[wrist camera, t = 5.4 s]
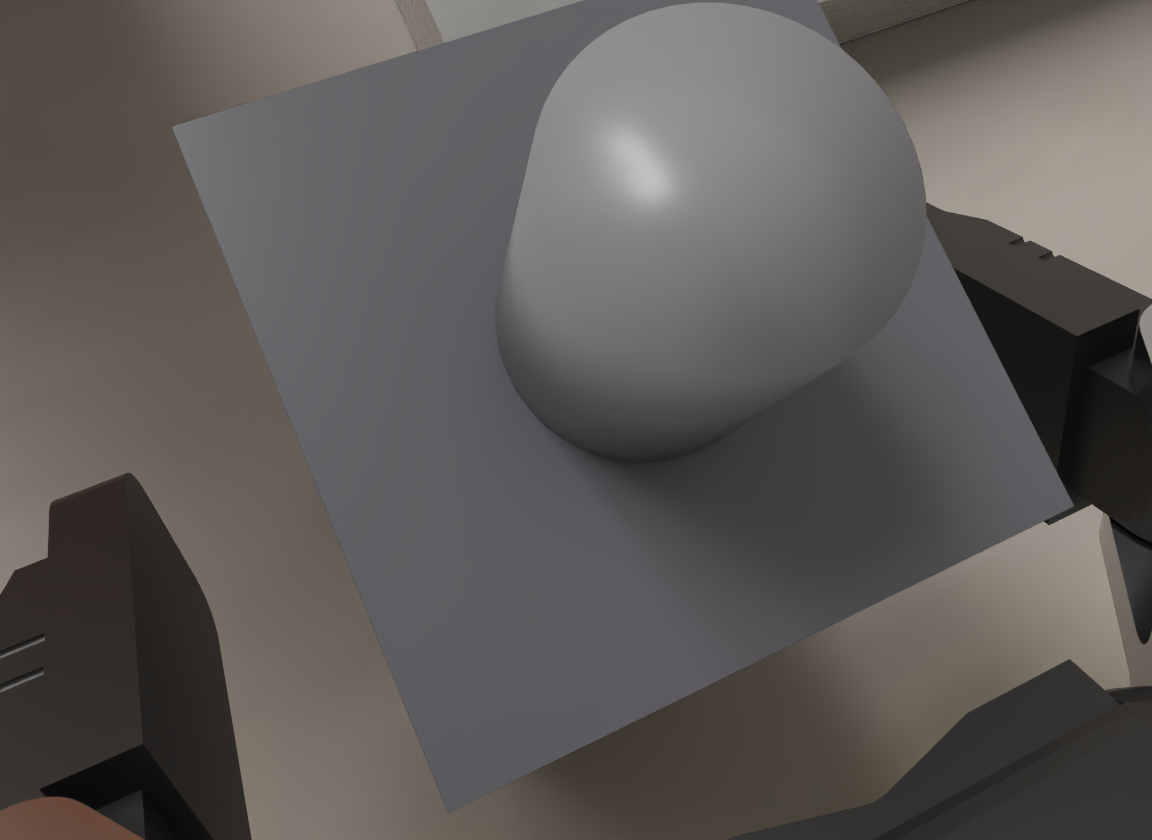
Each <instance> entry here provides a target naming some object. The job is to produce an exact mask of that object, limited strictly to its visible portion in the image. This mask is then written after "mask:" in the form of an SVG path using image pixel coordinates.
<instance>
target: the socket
mask: <svg viewBox="0 0 1152 840" xmlns="http://www.w3.org/2000/svg"><path fill="white" fill-rule="evenodd" d="M579 1H583V0H396V2H397V5H398V7H399V9H400V11H401V14H402V16H403V18H404V20H405V23H406V25H407V27H408V29H409V32H410V34H411V36H412V38H413V41H414V43H415V45H416V47H417V50H418V51H420V50H423V49H426V48H429V47H433V46H436V45H439V44H442V43H446V42H449V41H452V40H455V39H459V38H462V37H465V36H469V35H472V34H475V33H478V32H482V31H485V30H488V29H491V28H495V27H498V26H501V25H504V24H508V23H511V22H514V21H517V20H521V19H524V18H527V17H531V16H534V15H537V14H540V13H544V12H547V11H550V10H553V9H557V8H560V7H563V6H566V5H570V4H573V3H576V2H579ZM817 1H818V3H819V5H820V7H821V9H822V11H823V13H824V15H825V17H826V19H827V21H828V23H829V25H830V27H831V29H832V31H833V33H834V34H835V36H836V38H837V40H838V42H839V44H842V43H845V42H848V41H851V40H854V39H857V38H860V37H863V36H866V35H869V34H872V33H875V32H878V31H881V30H884V29H887V28H890V27H893V26H896V25H898V24H901V23H904V22H907V21H910V20H913V19H916V18H919V17H922V16H925V15H928V14H931V13H934V12H937V11H940V10H943V9H946V8H949V7H952V6H955V5H958V4H960V3H963V2H966V1H969V0H817Z"/></svg>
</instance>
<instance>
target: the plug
mask: <svg viewBox="0 0 1152 840" xmlns="http://www.w3.org/2000/svg"><path fill="white" fill-rule="evenodd" d="M171 127H172V129H173V131H174V134H175V136H176V139H177V141H178V144H179V146H180V149H181V151H182V154H183V156H184V159H185V161H186V164H187V166H188V169H189V171H190V174H191V176H192V179H193V181H194V184H195V186H196V189H197V191H198V194H199V196H200V199H201V201H202V204H203V206H204V208H205V211H206V213H207V216H208V218H209V221H210V223H211V226H212V228H213V231H214V233H215V236H216V238H217V241H218V243H219V246H220V248H221V251H222V253H223V256H224V258H225V261H226V263H227V266H228V268H229V271H230V273H231V276H232V278H233V281H234V283H235V285H236V288H237V290H238V293H239V295H240V298H241V300H242V303H243V305H244V308H245V310H246V313H247V315H248V318H249V320H250V323H251V325H252V328H253V330H254V333H255V335H256V338H257V340H258V343H259V345H260V348H261V350H262V353H263V355H264V358H265V360H266V362H267V365H268V367H269V370H270V372H271V375H272V377H273V380H274V382H275V385H276V387H277V390H278V392H279V395H280V397H281V400H282V402H283V405H284V407H285V410H286V412H287V415H288V417H289V420H290V422H291V425H292V427H293V430H294V432H295V435H296V437H297V440H298V442H299V444H300V447H301V449H302V452H303V454H304V457H305V459H306V462H307V464H308V467H309V469H310V472H311V474H312V477H313V479H314V482H315V484H316V487H317V489H318V492H319V494H320V497H321V499H322V502H323V504H324V507H325V509H326V512H327V514H328V516H329V519H330V521H331V524H332V526H333V529H334V531H335V534H336V536H337V539H338V541H339V544H340V546H341V549H342V551H343V554H344V556H345V559H346V561H347V564H348V566H349V569H350V571H351V574H352V576H353V579H354V581H355V584H356V586H357V589H358V591H359V594H360V596H361V598H362V601H363V603H364V606H365V608H366V611H367V613H368V616H369V618H370V621H371V623H372V626H373V628H374V631H375V633H376V636H377V638H378V641H379V643H380V646H381V648H382V651H383V653H384V656H385V658H386V661H387V663H388V666H389V668H390V671H391V673H392V675H393V678H394V680H395V683H396V685H397V688H398V690H399V693H400V695H401V698H402V700H403V703H404V705H405V708H406V710H407V713H408V715H409V718H410V720H411V723H412V725H413V728H414V730H415V733H416V735H417V738H418V740H419V743H420V745H421V748H422V750H423V752H424V755H425V757H426V760H427V762H428V765H429V767H430V770H431V772H432V775H433V777H434V780H435V782H436V785H437V787H438V790H439V792H440V795H441V797H442V800H443V802H444V805H445V807H446V810H447V812H448V813H449V812H451V811H453V810H455V809H457V808H459V807H461V806H463V805H466V804H468V803H470V802H472V801H474V800H476V799H478V798H480V797H482V796H484V795H486V794H488V793H490V792H492V791H494V790H496V789H498V788H500V787H502V786H504V785H506V784H508V783H510V782H512V781H514V780H517V779H519V778H521V777H523V776H525V775H527V774H529V773H531V772H533V771H535V770H537V769H539V768H541V767H543V766H545V765H547V764H549V763H551V762H553V761H555V760H557V759H559V758H561V757H563V756H565V755H568V754H570V753H572V752H574V751H576V750H578V749H580V748H582V747H584V746H586V745H588V744H590V743H592V742H594V741H596V740H598V739H600V738H602V737H604V736H606V735H608V734H610V733H612V732H614V731H616V730H619V729H621V728H623V727H625V726H627V725H629V724H631V723H633V722H635V721H637V720H639V719H641V718H643V717H645V716H647V715H649V714H651V713H653V712H655V711H657V710H659V709H661V708H663V707H665V706H667V705H670V704H672V703H674V702H676V701H678V700H680V699H682V698H684V697H686V696H688V695H690V694H692V693H694V692H696V691H698V690H700V689H702V688H704V687H706V686H708V685H710V684H712V683H714V682H716V681H718V680H721V679H723V678H725V677H727V676H729V675H731V674H733V673H735V672H737V671H739V670H741V669H743V668H745V667H747V666H749V665H751V664H753V663H755V662H757V661H759V660H761V659H763V658H765V657H767V656H769V655H772V654H774V653H776V652H778V651H780V650H782V649H784V648H786V647H788V646H790V645H792V644H794V643H796V642H798V641H800V640H802V639H804V638H806V637H808V636H810V635H812V634H814V633H816V632H818V631H820V630H822V629H825V628H827V627H829V626H831V625H833V624H835V623H837V622H839V621H841V620H843V619H845V618H847V617H849V616H851V615H853V614H855V613H857V612H859V611H861V610H863V609H865V608H867V607H869V606H871V605H873V604H876V603H878V602H880V601H882V600H884V599H886V598H888V597H890V596H892V595H894V594H896V593H898V592H900V591H902V590H904V589H906V588H908V587H910V586H912V585H914V584H916V583H918V582H920V581H922V580H924V579H927V578H929V577H931V576H933V575H935V574H937V573H939V572H941V571H943V570H945V569H947V568H949V567H951V566H953V565H955V564H957V563H959V562H961V561H963V560H965V559H967V558H969V557H971V556H973V555H975V554H978V553H980V552H982V551H984V550H986V549H988V548H990V547H992V546H994V545H996V544H998V543H1000V542H1002V541H1004V540H1006V539H1008V538H1010V537H1012V536H1014V535H1016V534H1018V533H1020V532H1022V531H1024V530H1026V529H1029V528H1031V527H1033V526H1035V525H1037V524H1039V523H1041V522H1043V521H1045V520H1047V519H1049V518H1051V517H1053V516H1055V515H1057V514H1059V513H1061V512H1063V511H1065V510H1067V509H1069V508H1071V507H1073V506H1074V505H1073V503H1072V501H1071V499H1070V497H1069V495H1068V493H1067V491H1066V489H1065V487H1064V485H1063V483H1062V481H1061V479H1060V477H1059V475H1058V474H1057V472H1056V470H1055V468H1054V466H1053V464H1052V462H1051V460H1050V458H1049V456H1048V454H1047V452H1046V450H1045V448H1044V446H1043V444H1042V442H1041V440H1040V438H1039V436H1038V434H1037V432H1036V430H1035V428H1034V426H1033V424H1032V422H1031V420H1030V418H1029V416H1028V414H1027V412H1026V411H1025V409H1024V407H1023V405H1022V403H1021V401H1020V399H1019V397H1018V395H1017V393H1016V391H1015V389H1014V387H1013V385H1012V383H1011V381H1010V379H1009V377H1008V375H1007V373H1006V371H1005V369H1004V367H1003V365H1002V363H1001V361H1000V359H999V357H998V355H997V353H996V351H995V349H994V348H993V346H992V344H991V342H990V340H989V338H988V336H987V334H986V332H985V330H984V328H983V326H982V324H981V322H980V320H979V318H978V316H977V314H976V312H975V310H974V308H973V306H972V304H971V302H970V300H969V298H968V296H967V294H966V292H965V290H964V288H963V286H962V285H961V283H960V281H959V279H958V277H957V275H956V273H955V271H954V269H953V267H952V265H951V263H950V261H949V259H948V257H947V255H946V253H945V251H944V249H943V247H942V245H941V243H940V241H939V239H938V237H937V235H936V233H935V231H934V229H933V227H932V225H931V223H930V222H929V220H928V218H927V216H926V194H925V188H924V182H923V176H922V170H921V167H920V164H919V161H918V157H917V154H916V151H915V147H914V145H913V143H912V140H911V138H910V136H909V133H908V131H907V129H906V127H905V124H904V122H903V121H902V119H901V117H900V116H899V114H898V112H897V111H896V109H895V107H894V105H893V104H892V102H891V101H890V99H889V98H888V97H887V95H886V94H885V93H884V92H883V90H882V89H881V88H880V86H879V85H878V84H877V82H876V81H875V80H874V79H873V78H872V77H871V76H870V75H869V74H868V73H867V72H866V71H865V70H864V68H863V67H862V66H861V65H860V64H859V63H858V62H856V61H855V60H854V59H853V58H852V57H850V56H849V55H848V54H847V53H846V52H844V51H843V50H842V48H841V46H840V44H839V42H838V40H837V38H836V36H835V34H834V33H833V31H832V29H831V27H830V25H829V23H828V21H827V19H826V17H825V15H824V13H823V11H822V9H821V7H820V5H819V3H818V1H817V0H583V1H579V2H576V3H573V4H570V5H566V6H563V7H560V8H557V9H553V10H550V11H547V12H544V13H540V14H537V15H534V16H531V17H527V18H524V19H521V20H517V21H514V22H511V23H508V24H504V25H501V26H498V27H495V28H491V29H488V30H485V31H482V32H478V33H475V34H472V35H469V36H465V37H462V38H459V39H455V40H452V41H449V42H446V43H442V44H439V45H436V46H433V47H429V48H426V49H423V50H420V51H416V52H413V53H410V54H406V55H403V56H400V57H397V58H393V59H390V60H387V61H384V62H380V63H377V64H374V65H371V66H367V67H364V68H361V69H358V70H354V71H351V72H348V73H344V74H341V75H338V76H335V77H331V78H328V79H325V80H322V81H318V82H315V83H312V84H309V85H305V86H302V87H299V88H296V89H292V90H289V91H286V92H282V93H279V94H276V95H273V96H269V97H266V98H263V99H260V100H256V101H253V102H250V103H247V104H243V105H240V106H237V107H233V108H230V109H227V110H224V111H220V112H217V113H214V114H211V115H207V116H204V117H201V118H198V119H194V120H191V121H188V122H185V123H181V124H178V125H175V126H171Z"/></svg>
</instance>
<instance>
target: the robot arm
mask: <svg viewBox="0 0 1152 840" xmlns="http://www.w3.org/2000/svg"><path fill="white" fill-rule="evenodd" d="M926 216H927V218H928V220H929V222H930V223H931V225H932V227H933V229H934V231H935V233H936V235H937V237H938V239H939V241H940V243H941V245H942V247H943V249H944V251H945V253H946V255H947V257H948V259H949V261H950V263H951V265H952V267H953V269H954V271H955V273H956V275H957V277H958V279H959V281H960V283H961V285H962V286H963V288H964V290H965V292H966V294H967V296H968V298H969V300H970V302H971V304H972V306H973V308H974V310H975V312H976V314H977V316H978V318H979V320H980V322H981V324H982V326H983V328H984V330H985V332H986V334H987V336H988V338H989V340H990V342H991V344H992V346H993V348H994V349H995V351H996V353H997V355H998V357H999V359H1000V361H1001V363H1002V365H1003V367H1004V369H1005V371H1006V373H1007V375H1008V377H1009V379H1010V381H1011V383H1012V385H1013V387H1014V389H1015V391H1016V393H1017V395H1018V397H1019V399H1020V401H1021V403H1022V405H1023V407H1024V409H1025V411H1026V412H1027V414H1028V416H1029V418H1030V420H1031V422H1032V424H1033V426H1034V428H1035V430H1036V432H1037V434H1038V436H1039V438H1040V440H1041V442H1042V444H1043V446H1044V448H1045V450H1046V452H1047V454H1048V456H1049V458H1050V460H1051V462H1052V464H1053V466H1054V468H1055V470H1056V472H1057V474H1058V475H1059V477H1060V479H1061V481H1062V483H1063V485H1064V487H1065V489H1066V491H1067V493H1068V495H1069V497H1070V499H1071V501H1072V503H1073V505H1074V506H1073V507H1071V508H1069V509H1067V510H1065V511H1063V512H1061V513H1059V514H1057V515H1055V516H1053V517H1051V518H1049V519H1047V520H1045V521H1044V522H1045V523H1047V524H1048V525H1050V524H1053V523H1055V522H1057V521H1059V520H1061V519H1063V518H1065V517H1067V516H1069V515H1071V514H1073V513H1075V512H1077V511H1079V510H1081V509H1083V508H1085V507H1087V506H1089V505H1091V504H1092V505H1094V506H1095V507H1097V508H1098V509H1100V510H1101V511H1102V512H1103V516H1102V521H1101V526H1100V531H1099V538H1100V544H1101V549H1102V553H1103V557H1104V562H1105V566H1106V571H1107V575H1108V580H1109V584H1110V589H1111V593H1112V598H1113V602H1114V607H1115V611H1116V615H1117V620H1118V624H1119V629H1120V633H1121V638H1122V642H1123V647H1124V651H1125V656H1126V660H1127V665H1128V670H1129V676H1130V687H1125V688H1116V689H1109V690H1104V689H1103V688H1102V687H1100V686H1099V685H1098V684H1097V683H1096V682H1095V681H1094V680H1093V679H1091V678H1090V677H1089V676H1088V675H1087V674H1086V673H1085V672H1084V671H1082V670H1081V669H1080V668H1079V667H1078V666H1077V665H1076V664H1074V663H1073V662H1072V661H1071V660H1070V659H1069V660H1067V661H1065V662H1063V663H1061V664H1059V665H1058V666H1056V667H1054V668H1052V669H1050V670H1048V671H1046V672H1044V673H1042V674H1041V675H1039V676H1037V677H1035V678H1033V679H1031V680H1029V681H1027V682H1025V683H1024V684H1022V685H1020V686H1018V687H1016V688H1014V689H1012V690H1010V691H1008V692H1007V693H1005V694H1003V695H1001V696H999V697H997V698H995V699H993V700H991V701H990V702H988V703H986V704H984V705H982V706H980V707H978V708H976V709H974V710H973V711H971V712H969V713H967V714H966V715H965V716H964V717H963V718H962V719H961V720H960V721H959V722H958V723H957V724H956V725H955V726H954V727H953V728H952V729H951V730H950V731H949V732H948V733H947V734H946V735H945V736H944V737H943V738H942V739H941V740H940V741H939V742H938V743H937V744H936V745H935V746H934V747H933V748H932V749H931V750H930V751H929V752H928V753H927V754H926V755H925V756H924V757H923V758H922V759H921V760H920V761H919V762H918V763H917V764H916V765H915V766H914V767H913V768H912V769H911V770H910V771H909V772H908V773H907V774H906V775H905V776H903V777H902V778H901V779H900V780H899V781H898V782H897V783H896V784H895V785H894V786H893V787H892V788H891V789H890V790H889V791H888V792H887V793H886V794H885V795H884V796H883V797H881V798H880V799H878V800H877V801H875V802H873V803H871V804H868V805H865V806H861V807H857V808H853V809H849V810H844V811H840V812H836V813H832V814H828V815H823V816H819V817H815V818H811V819H806V820H802V821H798V822H794V823H790V824H785V825H781V826H777V827H773V828H769V829H764V830H760V831H756V832H752V833H748V834H743V835H739V836H735V837H733V838H731V839H729V840H1152V299H1150V298H1148V297H1146V296H1144V295H1142V294H1140V293H1138V292H1136V291H1134V290H1132V289H1129V288H1127V287H1125V286H1123V285H1121V284H1119V283H1117V282H1115V281H1113V280H1111V279H1109V278H1107V277H1104V276H1102V275H1100V274H1098V273H1096V272H1094V271H1092V270H1090V269H1088V268H1086V267H1084V266H1082V265H1080V264H1077V263H1075V262H1073V261H1071V260H1069V259H1067V258H1065V257H1063V256H1061V255H1059V256H1056V257H1054V256H1053V254H1052V251H1050V250H1048V249H1046V248H1044V247H1042V246H1040V245H1038V244H1036V243H1034V242H1032V241H1028V242H1026V243H1025V242H1024V240H1023V237H1021V236H1019V235H1017V234H1015V233H1013V232H1011V231H1009V230H1007V229H1005V228H1003V227H1001V226H998V225H996V224H994V223H992V222H990V221H988V220H984V219H980V218H975V217H970V216H965V215H960V214H955V213H950V212H945V211H942V210H940V209H938V208H936V207H934V206H932V205H930V204H928V203H926ZM0 840H252V839H251V833H250V827H249V821H248V815H247V809H246V803H245V797H244V791H243V785H242V779H241V773H240V767H239V761H238V755H237V748H236V742H235V736H234V730H233V724H232V718H231V712H230V706H229V700H228V694H227V688H226V682H225V676H224V670H223V664H222V658H221V652H220V645H219V639H218V634H217V630H216V626H215V623H214V619H213V616H212V613H211V611H210V608H209V605H208V603H207V600H206V598H205V596H204V593H203V591H202V589H201V587H200V585H199V583H198V581H197V579H196V578H195V576H194V574H193V572H192V571H191V569H190V567H189V566H188V564H187V562H186V560H185V559H184V557H183V555H182V554H181V552H180V550H179V549H178V547H177V545H176V543H175V542H174V540H173V538H172V537H171V535H170V533H169V531H168V530H167V528H166V526H165V525H164V523H163V521H162V519H161V518H160V516H159V514H158V513H157V511H156V509H155V508H154V506H153V504H152V502H151V501H150V499H149V497H148V496H147V494H146V492H145V491H144V489H143V487H142V486H141V484H140V483H139V482H138V480H137V479H136V478H135V477H134V476H133V475H132V474H130V473H126V474H123V475H121V476H118V477H115V478H113V479H110V480H107V481H105V482H102V483H99V484H97V485H94V486H91V487H89V488H86V489H84V490H81V491H78V492H76V493H73V494H70V495H68V496H65V497H62V498H60V499H57V500H55V501H53V502H52V503H51V505H50V511H49V538H48V558H46V559H43V560H41V561H38V562H36V563H33V564H30V565H28V566H25V567H23V568H20V569H18V570H15V571H14V573H13V575H12V576H11V578H10V580H9V581H8V583H7V585H6V586H5V588H4V590H3V591H2V593H1V595H0Z"/></svg>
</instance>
